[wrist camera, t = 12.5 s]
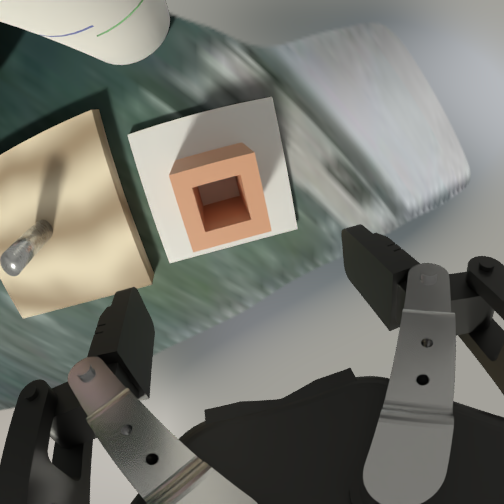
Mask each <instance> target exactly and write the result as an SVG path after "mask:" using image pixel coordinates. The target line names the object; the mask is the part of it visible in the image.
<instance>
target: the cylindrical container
mask: <svg viewBox="0 0 504 504" xmlns="http://www.w3.org/2000/svg"><path fill="white" fill-rule="evenodd" d="M0 22H3V23H6V24H9V25H12V26H15V27H18V28H21V29H24V30H27V31H30V32H33V33H35V34H38V35H41V36H44V37H46V38H49V39H51V40H54V41H57V42H59V43H62V44H64V45H67V46H69V47H72V48H74V49H76V50H79V51H81V52H84V53H86V54H88V55H91V56H93V57H95V58H97V59H100V60H102V61H104V62H106V63H110V64H114V65H125V64H131V63H135V62H138V61H140V60H142V59H144V58H146V57H147V56H149V55H150V54H152V53H153V52H154V51H155V50H156V49H157V48H158V47H159V46H160V45H161V44H162V42H163V41H164V39H165V37H166V35H167V33H168V30H169V26H170V15H169V10H168V7H167V3H166V0H0Z"/></svg>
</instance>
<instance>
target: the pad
mask: <svg viewBox="0 0 504 504" xmlns="http://www.w3.org/2000/svg"><path fill="white" fill-rule="evenodd" d="M128 138H129V142H130V145H131V149H132V152H133V155H134V159H135V162H136V165H137V169H138V172H139V175H140V178H141V181H142V185H143V188H144V191H145V194H146V197H147V200H148V203H149V206H150V209H151V212H152V215H153V218H154V221H155V224H156V226H157V229H158V232H159V235H160V238H161V241H162V243H163V246H164V249H165V252H166V254H167V257H168V260H169V262H170V263H173V262H176V261H180V260H184V259H187V258H191V257H195V256H198V255H202V254H206V253H209V252H213V251H217V250H220V249H224V248H228V247H232V246H235V245H239V244H243V243H246V242H250V241H254V240H258V239H261V238H265V237H269V236H273V235H276V234H280V233H284V232H288V231H292V230H295V229H297V223H296V217H295V211H294V205H293V200H292V194H291V189H290V183H289V178H288V172H287V167H286V162H285V157H284V152H283V147H282V142H281V137H280V132H279V127H278V122H277V117H276V112H275V108H274V103H273V98H272V97H268V98H262V99H257V100H252V101H247V102H243V103H238V104H234V105H229V106H225V107H221V108H217V109H213V110H209V111H205V112H201V113H197V114H193V115H190V116H186V117H182V118H179V119H175V120H172V121H169V122H165V123H162V124H159V125H156V126H152V127H149V128H146V129H143V130H140V131H137V132H134V133H131V134H129V135H128ZM237 143H244V144H245V145H246V146H247V147H249V148H250V149H251V150H252V151H254V152H255V156H256V161H257V165H258V170H259V174H260V179H261V183H262V188H263V192H264V197H265V202H266V206H267V211H268V216H269V220H270V225H271V230H272V231H270V232H267V233H263V234H259V235H255V236H252V237H248V238H244V239H241V240H237V241H233V242H230V243H226V244H222V245H219V246H215V247H211V248H208V249H204V250H200V251H197V252H193V250H192V247H191V244H190V241H189V238H188V235H187V232H186V229H185V226H184V223H183V220H182V217H181V213H180V210H179V207H178V204H177V201H176V197H175V194H174V191H173V188H172V184H171V181H170V178H169V174H170V171H171V169H172V167H173V164H174V162H175V160H178V159H181V158H185V157H188V156H192V155H195V154H199V153H203V152H206V151H210V150H214V149H218V148H222V147H225V146H229V145H233V144H237ZM198 189H199V193H200V196H201V200H202V203H203V206H204V205H208V204H211V203H215V202H218V201H222V200H226V199H230V198H233V197H237V196H240V194H239V190H238V186H237V182H236V178H235V176H233V177H230V178H226V179H222V180H218V181H215V182H211V183H207V184H204V185H200V186H198Z"/></svg>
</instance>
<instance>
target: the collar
mask: <svg viewBox="0 0 504 504" xmlns="http://www.w3.org/2000/svg"><path fill="white" fill-rule="evenodd" d="M233 176H235V178H236V182H237V186H238V190H239V194H240V196H237V197H233V198H230V199H226V200H222V201H218V202H215V203H211V204H208V205H204V206H203V203H202V200H201V196H200V193H199V189H198V186H200V185H204V184H207V183H211V182H215V181H218V180H222V179H226V178H230V177H233ZM169 178H170V181H171V184H172V188H173V191H174V194H175V197H176V201H177V204H178V207H179V210H180V213H181V217H182V220H183V223H184V226H185V229H186V232H187V235H188V238H189V241H190V244H191V247H192V250H193V252H197V251H200V250H204V249H208V248H211V247H215V246H219V245H222V244H226V243H230V242H233V241H237V240H241V239H244V238H248V237H252V236H255V235H259V234H263V233H267V232H270V231H272V230H271V225H270V220H269V216H268V211H267V206H266V202H265V197H264V192H263V188H262V183H261V179H260V174H259V170H258V165H257V161H256V156H255V152H254V151H252V150H251V149H250V148H249V147H247V146H246V145H245V144H244V143H237V144H233V145H229V146H225V147H222V148H218V149H214V150H210V151H206V152H203V153H199V154H195V155H192V156H188V157H185V158H181V159H178V160H175V162H174V164H173V167H172V169H171V171H170V174H169Z"/></svg>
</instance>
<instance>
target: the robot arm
mask: <svg viewBox="0 0 504 504" xmlns="http://www.w3.org/2000/svg"><path fill="white" fill-rule="evenodd" d="M342 246H343V258H344V267H345V271H346V274H347V277H348V278H349V280H350V281H351V283H352V284H353V285H354V286H355V288H356V289H357V290H358V291H359V292H360V293H361V295H362V296H363V298H364V299H365V300H366V301H367V303H368V304H369V305H370V306H371V308H372V309H373V310H374V312H375V313H376V314H377V315H378V317H379V318H380V319H381V320H382V322H383V323H384V324H385V326H386V327H387V328H388V329H389V331H391V330H394V329H396V328H398V327H400V331H399V336H398V341H397V347H396V352H395V357H394V362H393V367H392V372H391V376H390V379H388V378H383V377H375V376H364V377H355V375H354V374H353V372H352V370H351V368H348V369H346V370H343V371H340V372H337V373H334V374H332V375H329V376H326V377H323V378H320V379H317V380H315V381H313V382H312V383H310V384H308V385H306V386H304V387H302V388H301V389H299V390H297V391H295V392H293V393H292V394H290V395H288V396H286V397H284V398H282V399H277V400H264V401H244V402H237V403H233V404H229V405H224V406H221V407H216V408H211V409H206V410H205V420H206V421H204V422H202V423H200V424H198V425H196V426H194V427H193V428H191V429H190V430H189V431H187V432H186V433H185V434H184V435H183V436H181V437H180V438H179V439H177V438H176V437H175V436H174V435H173V434H172V433H171V432H170V431H169V430H168V429H167V428H166V427H165V426H164V425H163V424H162V423H161V422H160V421H159V420H158V419H157V418H156V417H155V416H154V415H153V414H152V413H151V412H150V411H149V410H148V409H147V408H146V407H145V406H144V405H143V404H142V403H141V402H140V400H145V399H149V396H150V381H151V368H152V357H153V346H154V336H155V331H154V325H153V322H152V319H151V317H150V315H149V313H148V311H147V309H146V307H145V305H144V303H143V300H142V298H141V296H140V294H139V292H138V290H137V289H136V288H135V287H131V288H127V289H124V290H120V291H117V292H116V293H115V296H114V299H113V302H112V305H111V306H110V307H107V308H106V310H105V311H104V312H103V313H102V315H101V316H100V318H99V321H98V324H97V327H96V331H95V335H94V337H93V340H92V343H91V346H90V350H89V353H88V356H87V358H84V359H82V360H81V361H79V362H78V363H76V364H75V365H74V366H73V368H72V369H71V370H70V372H69V375H68V382H66V383H63V384H61V385H59V386H57V387H54V388H52V389H51V387H50V386H49V385H48V384H47V383H46V382H45V381H44V380H35V381H32V382H31V383H29V384H28V385H27V386H25V387H24V389H23V390H22V391H21V393H20V395H19V397H18V400H17V404H16V407H15V411H14V413H13V417H12V420H11V424H10V427H9V431H8V435H7V438H6V442H5V447H4V450H3V455H2V459H1V464H0V504H90V474H91V458H92V444H93V439H95V438H98V439H99V441H100V442H101V444H102V445H103V447H104V448H105V449H106V451H107V452H108V454H109V455H110V457H111V458H112V459H113V461H114V462H115V464H116V465H117V466H118V468H119V469H120V470H121V472H122V473H123V474H124V476H125V477H126V478H127V479H128V481H129V482H130V483H131V484H132V486H133V487H134V488H135V489H136V490H137V492H138V494H137V496H136V497H135V498H134V500H133V501H132V502H131V504H504V417H500V416H497V415H493V414H491V413H487V412H484V411H481V410H478V409H475V408H472V407H469V406H465V405H463V404H459V403H457V402H454V401H453V397H454V382H455V360H456V358H455V357H456V335H458V336H459V337H460V338H461V339H462V341H463V342H464V343H465V344H466V346H467V347H468V348H469V349H470V351H471V352H472V353H473V354H474V356H475V357H476V358H477V360H478V361H479V362H480V363H481V365H482V366H483V367H484V369H485V370H486V371H487V373H488V374H489V375H490V377H491V378H492V379H493V381H494V382H495V383H496V385H497V386H498V387H499V389H500V390H501V392H502V393H503V394H504V330H503V329H502V328H501V327H500V326H499V325H498V324H497V323H496V322H495V321H494V320H493V319H492V317H493V313H494V310H495V311H496V312H497V313H498V314H499V315H500V316H501V317H502V318H503V320H504V265H503V264H501V263H500V262H499V261H497V260H496V259H493V258H491V257H486V256H478V257H474V258H472V259H471V260H470V261H469V262H468V267H467V272H462V273H456V274H448V272H447V270H445V269H444V268H443V267H441V266H439V265H436V264H432V263H422V264H420V263H419V262H417V261H416V260H415V259H414V258H413V257H411V256H410V255H409V254H408V253H407V252H405V251H404V250H403V249H401V248H400V247H399V246H398V245H397V244H396V245H395V243H394V242H393V241H392V240H391V239H389V238H388V237H386V236H383V235H381V234H378V233H374V234H373V233H371V232H370V231H369V230H368V229H366V228H365V227H364V226H363V225H361V224H360V225H356V226H353V227H349V228H346V229H343V230H342ZM50 437H51V438H52V439H53V440H54V441H55V446H54V452H53V459H52V463H51V461H50V459H49V457H48V452H47V450H48V444H49V438H50Z"/></svg>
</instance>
